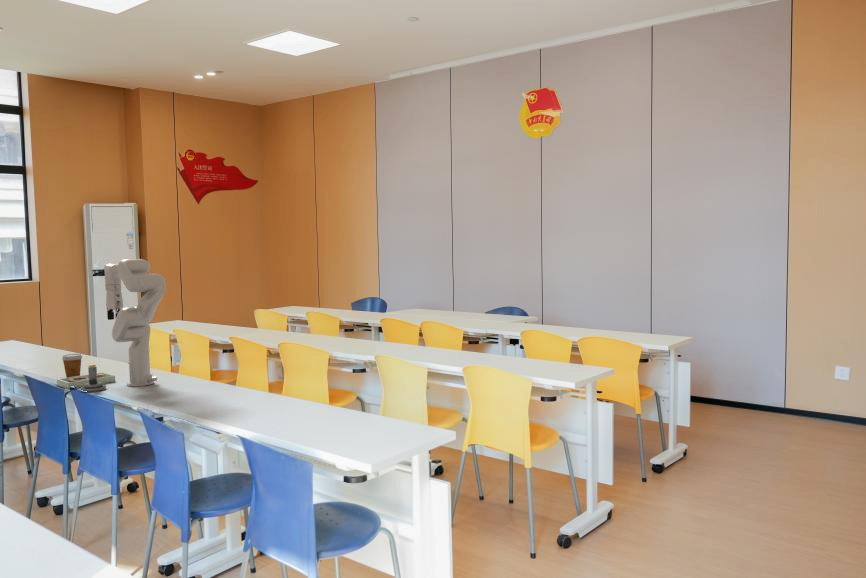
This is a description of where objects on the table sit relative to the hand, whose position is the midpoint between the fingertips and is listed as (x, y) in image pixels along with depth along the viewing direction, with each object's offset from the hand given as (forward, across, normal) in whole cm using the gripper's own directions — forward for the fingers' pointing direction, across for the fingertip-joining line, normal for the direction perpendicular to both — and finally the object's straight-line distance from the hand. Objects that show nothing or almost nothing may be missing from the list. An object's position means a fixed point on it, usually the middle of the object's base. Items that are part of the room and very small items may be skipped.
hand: (114, 320), depth 362 cm
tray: (+30, -3, +17) cm, 35 cm away
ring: (+30, -3, +17) cm, 34 cm away
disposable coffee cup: (+31, +18, +15) cm, 39 cm away
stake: (+30, -22, +21) cm, 43 cm away
